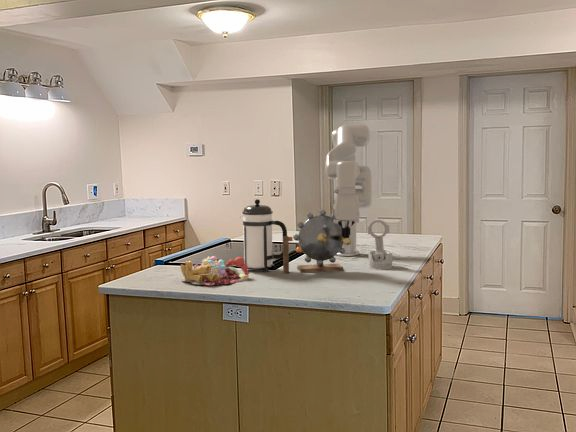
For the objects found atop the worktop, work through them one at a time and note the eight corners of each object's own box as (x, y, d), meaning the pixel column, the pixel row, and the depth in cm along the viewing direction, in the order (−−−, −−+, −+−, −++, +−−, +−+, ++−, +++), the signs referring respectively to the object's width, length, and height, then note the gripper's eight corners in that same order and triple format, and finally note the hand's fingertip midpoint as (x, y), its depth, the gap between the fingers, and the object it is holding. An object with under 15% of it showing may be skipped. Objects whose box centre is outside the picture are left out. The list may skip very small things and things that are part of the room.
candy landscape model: (218, 290, 219) (217, 265, 218) (170, 283, 231) (169, 259, 230) (256, 277, 240) (256, 254, 239) (210, 271, 253) (210, 249, 252)
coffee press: (250, 274, 243) (249, 201, 239) (235, 268, 257) (234, 198, 254) (288, 270, 251) (287, 199, 247) (271, 264, 265) (270, 196, 262)
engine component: (390, 269, 250) (393, 265, 259) (390, 221, 248) (394, 218, 257) (364, 268, 253) (369, 263, 263) (364, 220, 251) (369, 217, 261)
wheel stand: (338, 266, 257) (337, 232, 255) (343, 270, 249) (343, 234, 248) (281, 269, 253) (280, 234, 251) (284, 273, 245) (283, 236, 243)
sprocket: (328, 275, 251) (357, 228, 251) (335, 280, 240) (366, 231, 240) (282, 247, 246) (312, 198, 246) (287, 251, 235) (318, 201, 235)
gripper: (330, 192, 235) (330, 239, 237) (366, 192, 238) (366, 237, 240) (325, 192, 242) (325, 236, 244) (360, 191, 245) (360, 235, 247)
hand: (345, 237), depth 242 cm, fingers closed
